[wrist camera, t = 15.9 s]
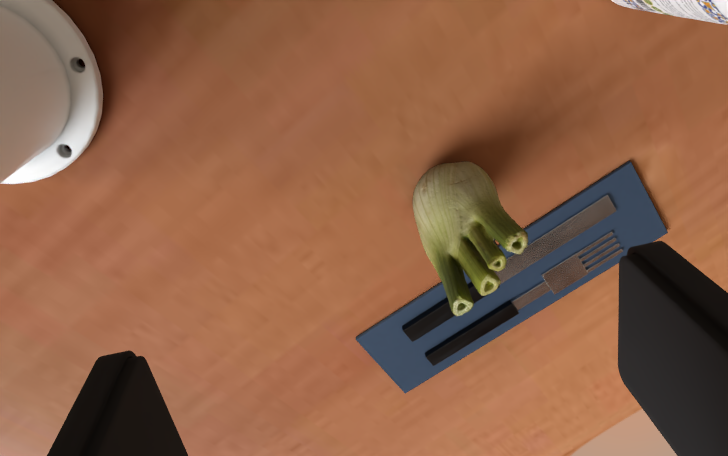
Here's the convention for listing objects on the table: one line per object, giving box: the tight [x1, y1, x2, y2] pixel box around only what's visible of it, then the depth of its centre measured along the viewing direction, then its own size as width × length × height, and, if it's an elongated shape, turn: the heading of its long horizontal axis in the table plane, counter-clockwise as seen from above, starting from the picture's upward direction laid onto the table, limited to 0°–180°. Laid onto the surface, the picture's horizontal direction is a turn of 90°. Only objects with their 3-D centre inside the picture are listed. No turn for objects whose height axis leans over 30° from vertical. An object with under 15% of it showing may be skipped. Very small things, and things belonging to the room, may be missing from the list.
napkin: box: [356, 161, 668, 393], centre depth 44 cm, size 24×7×1 cm, turn 125°
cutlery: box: [402, 194, 623, 366], centre depth 44 cm, size 18×5×1 cm, turn 125°
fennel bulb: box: [413, 161, 528, 316], centre depth 35 cm, size 6×5×12 cm
